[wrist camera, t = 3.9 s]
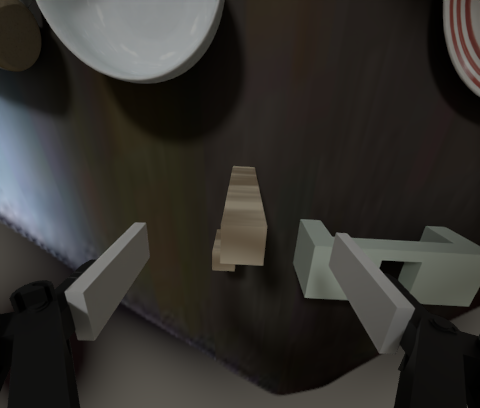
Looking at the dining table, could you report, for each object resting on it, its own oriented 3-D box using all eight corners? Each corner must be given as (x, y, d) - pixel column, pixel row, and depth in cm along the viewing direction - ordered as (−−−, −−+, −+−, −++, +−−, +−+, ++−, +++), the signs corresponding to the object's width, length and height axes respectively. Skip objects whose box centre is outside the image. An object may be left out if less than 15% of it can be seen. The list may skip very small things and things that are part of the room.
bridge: (300, 219, 34) (315, 246, 27) (445, 227, 34) (496, 255, 27) (293, 263, 37) (304, 297, 30) (426, 270, 37) (468, 306, 30)
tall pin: (233, 166, 31) (221, 224, 15) (254, 167, 31) (267, 227, 15) (232, 186, 33) (220, 263, 16) (253, 188, 33) (263, 265, 16)
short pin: (217, 229, 35) (212, 251, 30) (236, 230, 35) (235, 252, 30) (217, 246, 36) (212, 270, 31) (235, 247, 36) (234, 271, 31)
